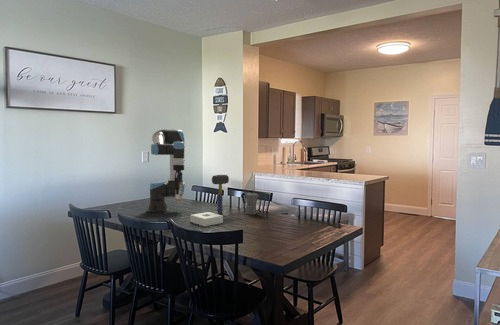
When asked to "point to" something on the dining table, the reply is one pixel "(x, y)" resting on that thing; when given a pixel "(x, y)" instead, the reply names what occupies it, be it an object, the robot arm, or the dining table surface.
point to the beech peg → (180, 193)
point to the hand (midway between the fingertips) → (178, 198)
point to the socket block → (206, 219)
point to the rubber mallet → (220, 188)
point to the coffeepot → (250, 202)
